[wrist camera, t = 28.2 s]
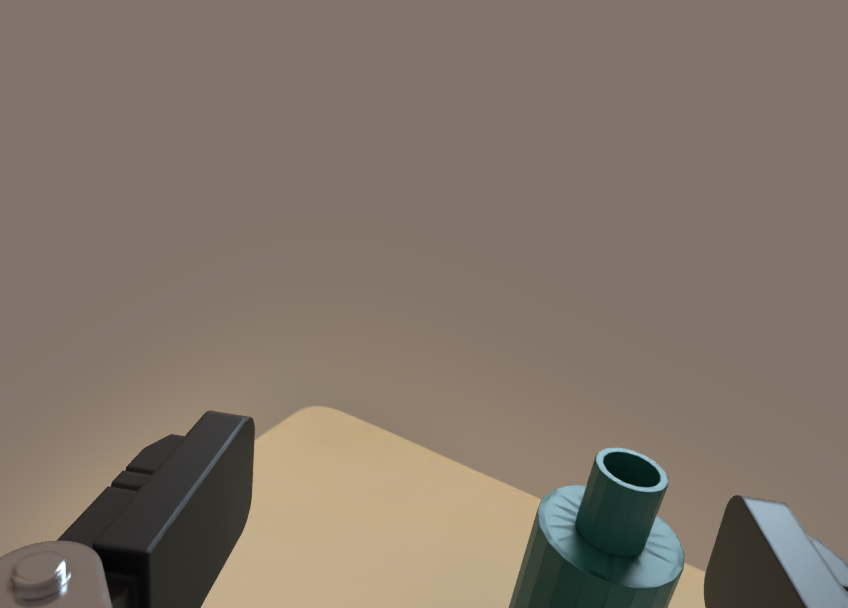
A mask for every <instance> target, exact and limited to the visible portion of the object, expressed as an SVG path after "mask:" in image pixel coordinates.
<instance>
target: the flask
mask: <svg viewBox="0 0 848 608" xmlns="http://www.w3.org/2000/svg"><path fill="white" fill-rule="evenodd" d="M667 487H668V476H667V475H666V473H665V472H664V470H663V469H662V467H660V466H659V465H658V464H657V463H656V462H654V461H653V460H652V459H650V458H648V457H646V456H644V455H642V454H640V453H638V452H635V451H632V450H628V449H624V448H607V449H603V450H601V451H600V452H599V453H598V454H597V455H596V457H595V460H594V464H593V467H592V470H591V473H590V476H589V479H588V482H587V485H570V486H565V487H561V488H558V489H555V490H553V491H552V492H550V493H549V494H547V495H546V496H545V497H544V498H543V499H542V501H541V503H540V505H539V508H538V510H537V513H536V517H535V520H534V524H533V527H532V530H531V534H530V537H529V541H528V544H527V547H526V551H525V554H524V558H523V561H522V564H521V568H520V571H519V575H518V578H517V581H516V585H515V588H514V592H513V595H512V598H511V602H510V605H509V608H668V605H669V603H670V600H671V598H672V595H673V593H674V591H675V588H676V586H677V583H678V581H679V578H680V576H681V574H682V571H683V568H684V552H683V549H682V547H681V544H680V541H679V539H678V537H677V536H676V534H675V533H674V532H673V531H672V529H671V528H670V527H669V525H668V524H667V523H666V522H665V521H664V520H663V519H661V518H660V517H659V516H658V515H657V513H658V510H659V508H660V505H661V502H662V500H663V497H664V495H665V492H666V489H667Z"/></svg>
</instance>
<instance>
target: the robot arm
mask: <svg viewBox="0 0 848 608" xmlns="http://www.w3.org/2000/svg"><path fill="white" fill-rule="evenodd" d="M254 427H255V426H254V421H253V418H251V417H247V416H241V415H235V414H228V413H222V412H216V411H207V412H206V413H205V414H204V415H203V416H202V417H201V418H200V419H199V421H198V422H197V423H196V424H195V425H194V426H193V427H192V429H191V430H190V431H189V432H188V433H187V434H186V436H178V435H173V434H171V435H169V436H167V437H165V438H163V439H161V440H159V441H157V442H155V443H153V444H151V445H149V446H147V447H145V448H144V449H143V450H142V451H141V452H140V453H139V454H138V455H137V456H136V457H135V458H134V460H132V461H131V463H130V464H129V465H128V466H127V467H126V471H122V472H121V473H120V474H119V475H118V476H117V477H116V478H115V479H114V481H113V482H112V484H111V487H107V488H106V489H105V490H104V491H103V492H102V493H101V494H100V495H99V496H98V498H96V500H95V501H94V502H93V503H92V504H91V505H90V506H89V507H88V508H87V509H86V510H85V511H84V512H83V513H82V514H81V516H80V517H79V518H78V519H77V520H76V521H75V522H74V523H73V524H72V525H71V526H70V527H69V528H68V529H67V530H66V531H65V532H64V534H62V536H61V537H60V538H59V539H58V540H57V541H48V542H47V541H46V542H41V543H35V544H31V545H28V546H24V547H22V548H19V549H17V550H14V551H12V552H10V553H8V554H6V555H4V556H3V557H1V558H0V608H200V607H201V606H202V604H203V602H204V600H205V598H206V597H207V595H208V593H209V591H210V589H211V588H212V586H213V584H214V582H215V580H216V579H217V577H218V575H219V573H220V571H221V570H222V568H223V566H224V564H225V563H226V561H227V559H228V557H229V555H230V554H231V552H232V550H233V548H234V546H235V545H236V543H237V541H238V539H239V537H240V536H241V534H242V532H243V529H244V527H245V524H246V521H247V518H248V514H249V510H250V505H251V499H252V481H253V458H254V435H255V428H254ZM704 600H705V606H706V608H848V564H847V563H846V562H845V561H843V560H842V559H841V558H840V557H839V556H837V555H836V554H835V553H834V552H833V551H831V550H830V549H829V548H828V547H826V546H825V545H824V544H823V543H822V542H820V541H819V540H817V539H811V538H810V537H809V536H808V534H807V533H806V531H805V530H804V528H803V527H802V525H801V524H800V523H799V521H798V520H797V518H796V517H795V515H794V514H793V512H792V511H791V509H790V508H789V507H788V505H786V504H785V503H782V502H776V501H770V500H764V499H758V498H751V497H745V496H739V495H737V496H733V497H732V498H731V499H730V501H729V502H728V504H727V507H726V509H725V512H724V516H723V519H722V522H721V526H720V528H719V532H718V535H717V538H716V542H715V545H714V548H713V551H712V554H711V557H710V561H709V563H708V567H707V570H706V574H705V580H704Z"/></svg>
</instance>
